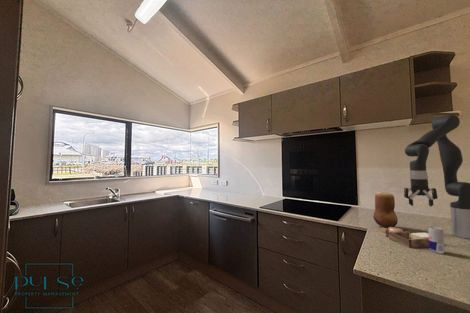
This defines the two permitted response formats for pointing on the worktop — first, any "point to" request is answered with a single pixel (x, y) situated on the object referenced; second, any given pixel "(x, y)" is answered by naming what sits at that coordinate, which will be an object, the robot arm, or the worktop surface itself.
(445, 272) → the worktop surface
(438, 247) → the energy drink
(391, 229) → the cream small lump
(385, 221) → the butternut squash
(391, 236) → the walnut display stand
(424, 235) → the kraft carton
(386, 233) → the oak block
